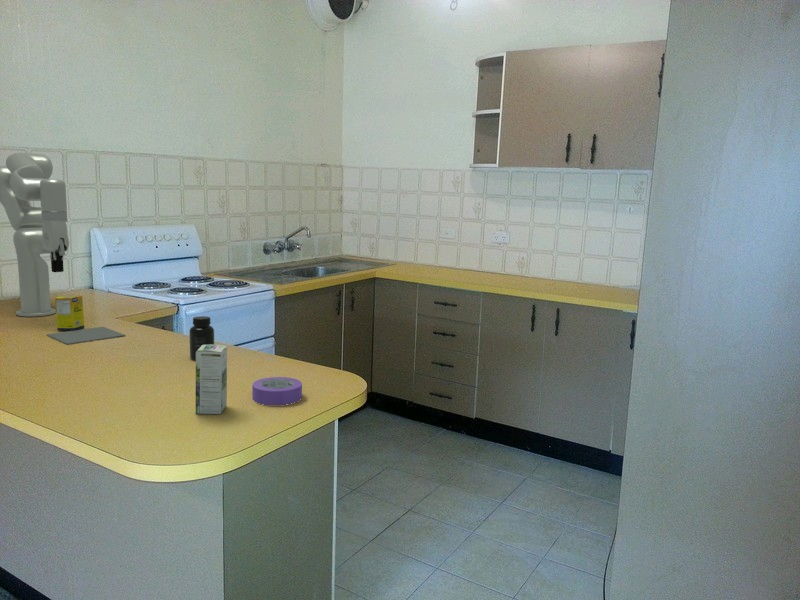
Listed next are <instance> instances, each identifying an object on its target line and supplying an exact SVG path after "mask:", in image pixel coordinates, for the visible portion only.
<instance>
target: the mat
mask: <svg viewBox="0 0 800 600" xmlns="http://www.w3.org/2000/svg"><path fill="white" fill-rule="evenodd" d="M45 335H47V336H46V337H48V338H52V339H53V340H55V339H56V340H55V341H57V340H58V342H59V343H62V344H64V345H66V344H67V345H68V346H69V344H70V345H76V344H75V343H77V344H81V342H83V343H88V342H87V341H90V342H94V341H93V340H97V341H102V340H101V339H103V340H108V339H107V338H110V339H116V338H115V337H117V338H121V336H123V337H126V334H124V333H121V332H119V331H116V330H113V329H110V328H108V327H106V326H98V327H91V328H90V327H88V328H81V329H77V330H66V331H60V332H53V333H46V334H45ZM67 345H66V346H67Z"/></svg>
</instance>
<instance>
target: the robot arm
mask: <svg viewBox="0 0 800 600" xmlns="http://www.w3.org/2000/svg"><path fill="white" fill-rule="evenodd" d="M53 168H54V167H53V163H52V160H51V159H50V157H48V156H47V155H45V154H43V153H42V154H41V153H28V152H24V153H23V152H16V153H12V154H10V155H8V157H7V158H6V159H5V165H0V204H1V205H2V207H3V208H4V211H5V213H6V216H7V219H8V221H9V223H10V225H11V227H12V228H13V230H14V231H15V232H14V233H13V237H12V238H13V240H12V241H13V245H14V248H15V254H16V259H17V268H18V269H17V270H18V284H19V301H20V309H18V310H16V311H15V314H16V315H17V316H19V317H27V318H29V317H31V318H32V317H45V316H50V315H53V314H56V308H53V307H51V292H50V291H51V289H50V271H49V265H48V263H47V261H46V260H45V259H44V258H43V257H41V255H44V254H45V255H46V254H47V255H48V254H49V256H50V257H49V258H50V265H51V267H50V268H51V272H52V273H63V272H64V256H66V253H65V252H67V251H68V249H69V245H70V241H69V236H68V229H67V222H68V209H67V208H68V207H67V188H66V186H67V185H66V182H65V181H64V180H62V179H54V178H51V176H52V174H53V170H54V169H53ZM31 201H32V202H40V207H38V206H32V205H31V203H30V202H31Z"/></svg>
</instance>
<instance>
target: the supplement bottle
mask: <svg viewBox="0 0 800 600" xmlns="http://www.w3.org/2000/svg"><path fill="white" fill-rule="evenodd" d="M211 323H212V322H211V316H206V315H205V316H204V315H203V316H193V317H192V325H193V326H191V327H190V329H189V357H190V359H191V360H193V361H196V351H197V350H198V349H199V348H200V347H201V346H202V345H209V344H213V345H215V328H214V327H213V326H211Z"/></svg>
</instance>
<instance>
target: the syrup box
mask: <svg viewBox="0 0 800 600" xmlns="http://www.w3.org/2000/svg"><path fill="white" fill-rule="evenodd" d="M227 372H228V346H227V345H223V344H214V345H213V344H209V345H202V346H201V347H200V348H199V349H198V350H197V351H196V360H195V414H196V415H222V414H223V412H224V410H225V409H226V407H227V394H228V393H227V392H228V391H227V390H228V389H227V388H228V387H227V385H228V383H227V382H228V378H227V377H228V373H227Z"/></svg>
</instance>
